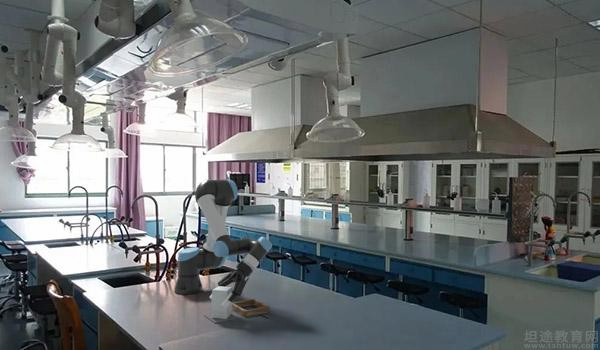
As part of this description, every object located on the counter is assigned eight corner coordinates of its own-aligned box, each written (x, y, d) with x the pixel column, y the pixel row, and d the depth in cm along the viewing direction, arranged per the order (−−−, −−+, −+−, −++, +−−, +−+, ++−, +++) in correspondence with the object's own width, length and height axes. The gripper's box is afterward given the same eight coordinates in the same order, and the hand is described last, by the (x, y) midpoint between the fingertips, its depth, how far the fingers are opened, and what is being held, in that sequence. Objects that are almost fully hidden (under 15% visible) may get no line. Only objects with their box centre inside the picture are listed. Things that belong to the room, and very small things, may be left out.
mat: (204, 315, 188) (204, 315, 188) (228, 311, 195) (228, 310, 195) (215, 323, 178) (215, 322, 178) (239, 318, 185) (240, 317, 185)
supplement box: (226, 319, 182) (226, 290, 182) (211, 318, 184) (211, 289, 184) (232, 314, 189) (232, 286, 190) (217, 312, 191) (217, 285, 191)
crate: (230, 308, 199) (230, 303, 199) (254, 304, 206) (254, 298, 206) (244, 317, 186) (244, 311, 186) (269, 312, 194) (269, 306, 194)
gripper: (265, 275, 185) (235, 315, 176) (240, 265, 206) (211, 301, 197) (255, 265, 182) (223, 304, 173) (230, 256, 203) (201, 291, 194)
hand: (217, 302), depth 185 cm, fingers open, 13 cm apart
